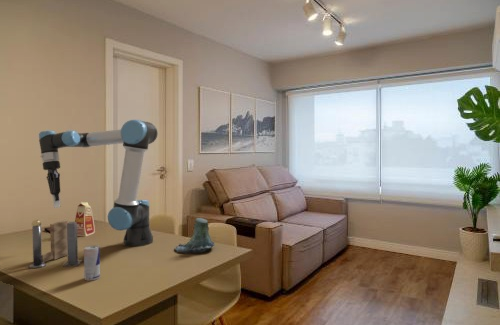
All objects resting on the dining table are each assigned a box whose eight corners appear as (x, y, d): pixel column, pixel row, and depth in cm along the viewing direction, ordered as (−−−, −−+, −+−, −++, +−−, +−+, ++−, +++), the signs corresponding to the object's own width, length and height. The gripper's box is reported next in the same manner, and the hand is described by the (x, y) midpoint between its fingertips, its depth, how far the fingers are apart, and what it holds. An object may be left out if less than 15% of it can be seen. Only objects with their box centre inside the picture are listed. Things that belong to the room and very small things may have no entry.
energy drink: (102, 275, 130) (101, 245, 130) (96, 280, 125) (95, 249, 124) (88, 275, 130) (87, 245, 129) (81, 281, 124) (81, 249, 124)
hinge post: (49, 263, 145) (47, 218, 144) (39, 268, 139) (38, 221, 138) (35, 263, 145) (34, 218, 144) (25, 268, 139) (24, 221, 138)
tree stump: (191, 242, 179) (198, 211, 177) (220, 257, 169) (227, 223, 167) (166, 249, 163) (173, 214, 161) (196, 266, 153) (204, 229, 151)
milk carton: (86, 236, 193) (85, 202, 192) (72, 235, 195) (71, 201, 194) (96, 232, 202) (95, 199, 201) (82, 232, 204) (82, 199, 203)
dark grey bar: (62, 266, 141) (61, 224, 140) (68, 262, 147) (67, 221, 146) (78, 265, 142) (77, 223, 141) (82, 261, 148) (81, 221, 147)
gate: (43, 264, 143) (42, 227, 143) (39, 263, 144) (38, 227, 143) (68, 254, 157) (67, 220, 157) (64, 254, 157) (64, 220, 157)
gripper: (39, 163, 171) (45, 209, 170) (46, 160, 162) (53, 208, 161) (55, 162, 176) (61, 206, 175) (63, 158, 167) (69, 205, 166)
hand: (57, 207), depth 168 cm, fingers closed
